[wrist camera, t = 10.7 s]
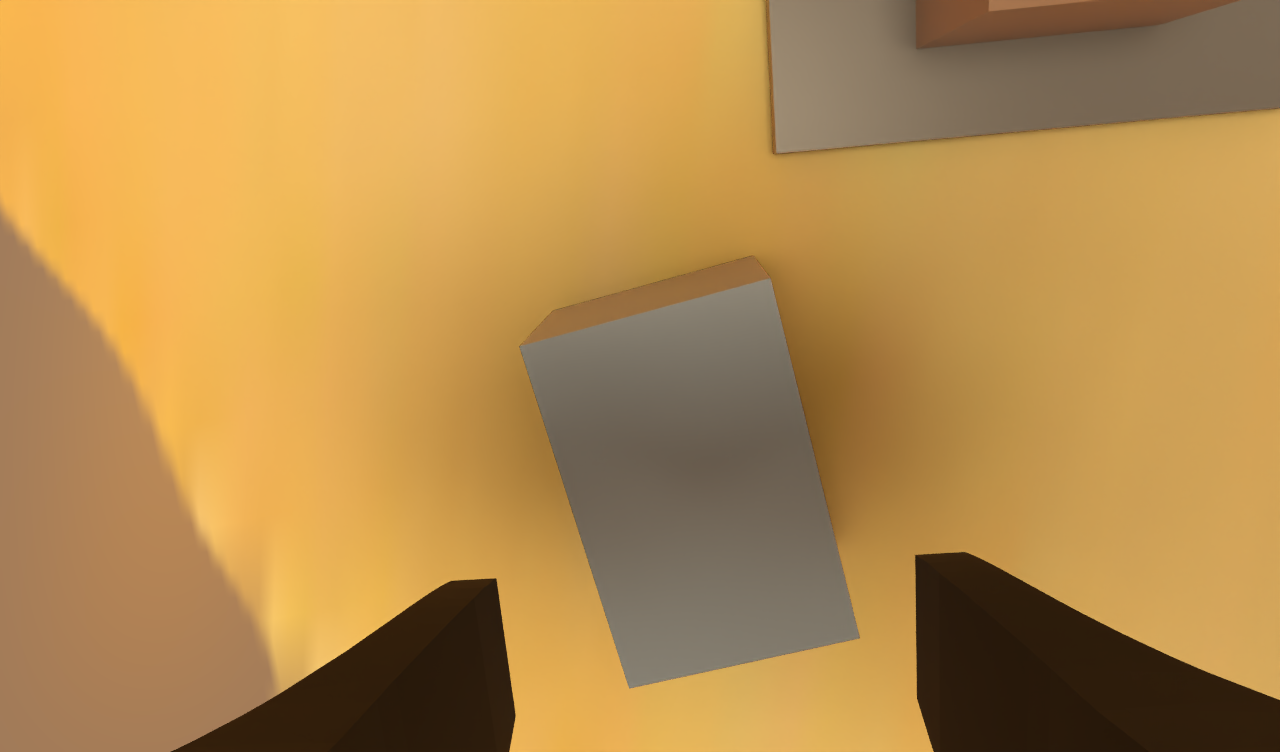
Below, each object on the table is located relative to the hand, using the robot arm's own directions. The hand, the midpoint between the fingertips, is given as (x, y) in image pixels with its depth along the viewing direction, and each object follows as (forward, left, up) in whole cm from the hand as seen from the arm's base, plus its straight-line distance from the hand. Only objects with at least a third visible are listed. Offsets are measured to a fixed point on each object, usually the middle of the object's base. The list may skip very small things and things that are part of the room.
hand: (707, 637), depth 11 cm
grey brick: (0, 0, -9) cm, 9 cm away
